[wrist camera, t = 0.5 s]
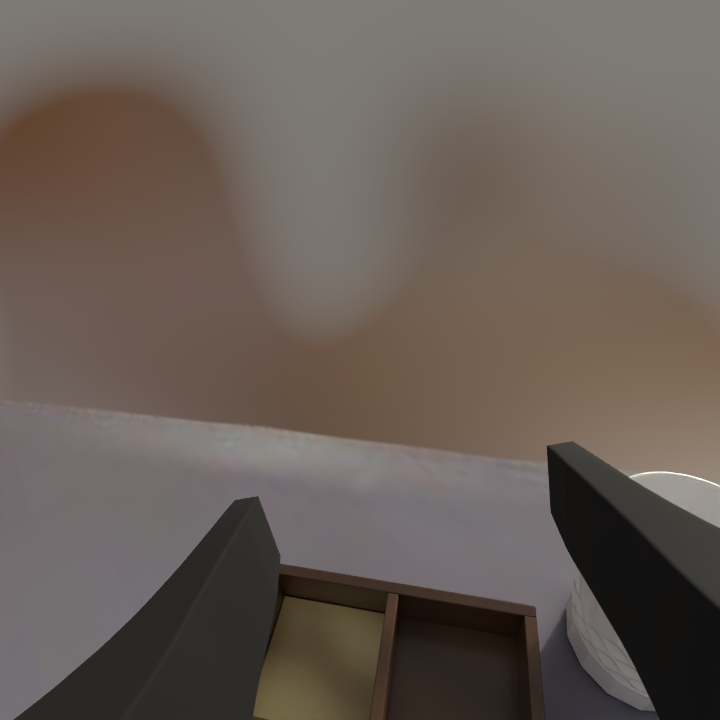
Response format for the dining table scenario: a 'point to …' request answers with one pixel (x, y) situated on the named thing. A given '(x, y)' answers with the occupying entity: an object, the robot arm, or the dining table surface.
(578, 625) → the white cup
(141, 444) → the dining table surface
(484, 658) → the rack
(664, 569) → the robot arm
